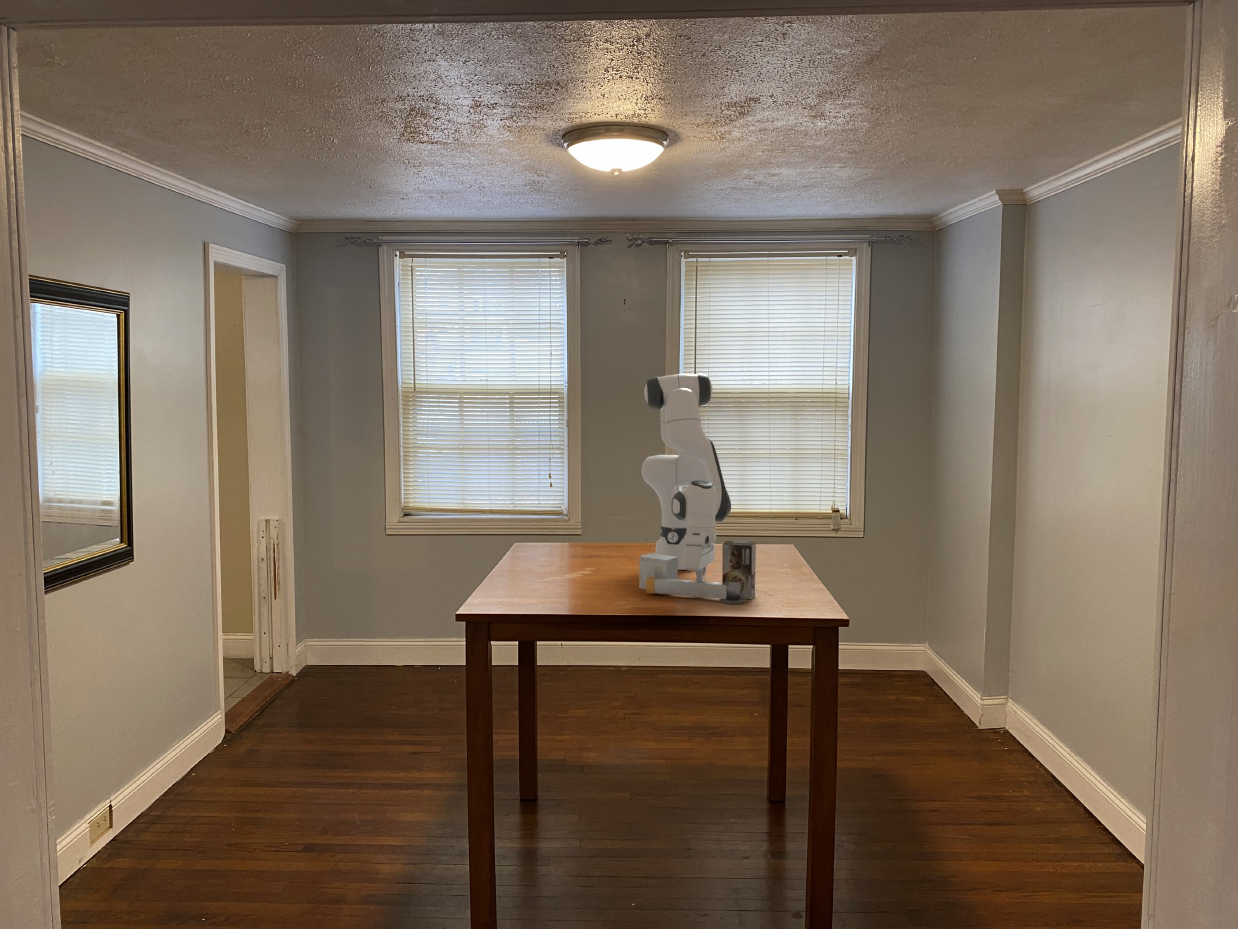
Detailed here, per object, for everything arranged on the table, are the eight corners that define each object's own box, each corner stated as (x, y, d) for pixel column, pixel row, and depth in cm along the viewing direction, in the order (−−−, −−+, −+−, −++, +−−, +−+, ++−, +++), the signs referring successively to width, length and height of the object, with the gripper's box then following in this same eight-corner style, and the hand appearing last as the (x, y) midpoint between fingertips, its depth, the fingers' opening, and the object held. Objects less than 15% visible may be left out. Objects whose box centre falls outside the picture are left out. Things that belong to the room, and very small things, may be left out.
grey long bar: (741, 598, 258) (742, 580, 258) (738, 601, 254) (738, 583, 254) (650, 590, 267) (650, 573, 267) (645, 593, 263) (646, 576, 263)
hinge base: (723, 598, 261) (723, 595, 261) (747, 600, 259) (747, 597, 259) (717, 603, 255) (718, 600, 255) (742, 605, 252) (742, 602, 252)
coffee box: (755, 595, 266) (756, 541, 265) (751, 599, 260) (752, 545, 259) (725, 592, 269) (726, 540, 268) (721, 597, 263) (722, 543, 262)
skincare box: (638, 589, 273) (638, 555, 273) (650, 585, 278) (650, 552, 278) (666, 593, 267) (667, 559, 266) (678, 590, 272) (678, 556, 271)
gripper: (700, 530, 276) (699, 574, 277) (681, 539, 257) (680, 586, 258) (720, 531, 274) (719, 576, 274) (702, 540, 254) (701, 588, 255)
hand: (700, 581), depth 266 cm, fingers closed
